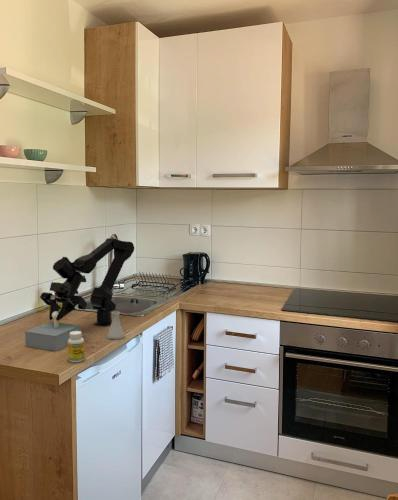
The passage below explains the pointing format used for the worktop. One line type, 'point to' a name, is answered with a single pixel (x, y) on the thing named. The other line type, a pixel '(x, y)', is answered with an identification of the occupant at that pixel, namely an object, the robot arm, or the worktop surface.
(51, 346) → the carton
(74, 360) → the supplement bottle
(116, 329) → the flask
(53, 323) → the near flap
